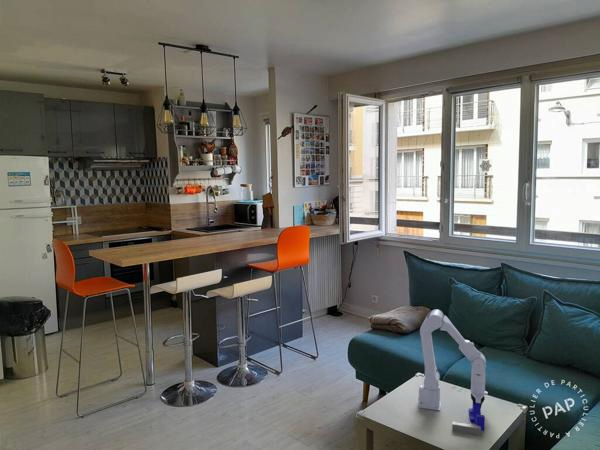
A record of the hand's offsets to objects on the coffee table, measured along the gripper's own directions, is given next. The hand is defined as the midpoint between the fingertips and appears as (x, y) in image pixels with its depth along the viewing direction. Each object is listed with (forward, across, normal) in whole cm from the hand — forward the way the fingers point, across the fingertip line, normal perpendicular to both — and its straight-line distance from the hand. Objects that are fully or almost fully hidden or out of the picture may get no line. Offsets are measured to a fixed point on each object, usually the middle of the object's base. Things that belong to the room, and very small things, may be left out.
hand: (477, 410), depth 201 cm
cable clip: (+1, -8, +1) cm, 8 cm away
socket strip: (+1, -17, +5) cm, 18 cm away
